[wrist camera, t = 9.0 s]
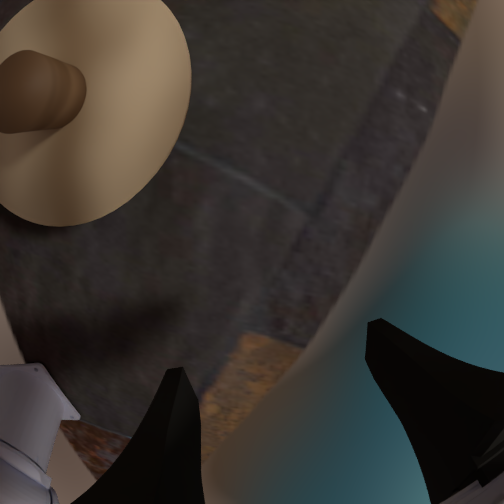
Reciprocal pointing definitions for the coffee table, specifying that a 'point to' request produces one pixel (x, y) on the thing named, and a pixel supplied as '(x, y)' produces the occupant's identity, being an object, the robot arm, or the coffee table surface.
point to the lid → (88, 105)
